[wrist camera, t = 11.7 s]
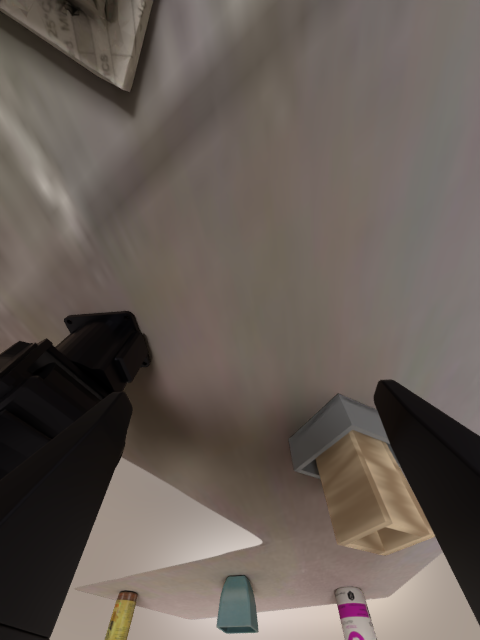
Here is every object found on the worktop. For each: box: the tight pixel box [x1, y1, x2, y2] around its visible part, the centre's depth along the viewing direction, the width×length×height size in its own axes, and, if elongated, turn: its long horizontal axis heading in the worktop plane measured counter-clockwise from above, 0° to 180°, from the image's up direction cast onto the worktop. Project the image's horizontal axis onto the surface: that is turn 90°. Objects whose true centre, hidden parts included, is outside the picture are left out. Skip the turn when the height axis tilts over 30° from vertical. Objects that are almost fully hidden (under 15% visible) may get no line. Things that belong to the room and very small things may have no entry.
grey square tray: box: [289, 394, 400, 479], centre depth 29 cm, size 10×10×4 cm
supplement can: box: [335, 587, 377, 640], centre depth 64 cm, size 8×8×15 cm
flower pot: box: [217, 575, 258, 633], centre depth 61 cm, size 9×9×9 cm
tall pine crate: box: [316, 430, 435, 556], centre depth 25 cm, size 6×6×10 cm
